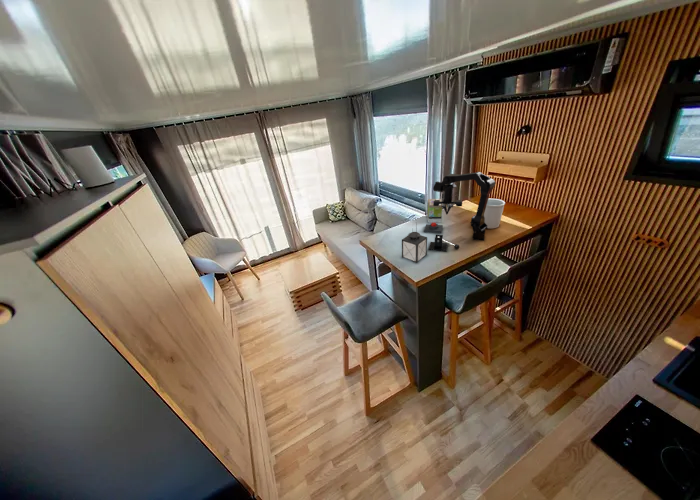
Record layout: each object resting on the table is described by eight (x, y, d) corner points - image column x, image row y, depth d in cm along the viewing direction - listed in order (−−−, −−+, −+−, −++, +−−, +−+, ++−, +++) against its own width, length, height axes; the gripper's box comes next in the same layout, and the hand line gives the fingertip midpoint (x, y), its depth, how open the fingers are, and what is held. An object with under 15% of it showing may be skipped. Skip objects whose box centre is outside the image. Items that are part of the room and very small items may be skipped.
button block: (442, 227, 188) (442, 222, 186) (441, 233, 180) (441, 228, 178) (426, 226, 193) (426, 221, 191) (424, 232, 185) (424, 227, 183)
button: (436, 224, 185) (436, 222, 184) (435, 226, 183) (436, 224, 182) (431, 224, 187) (431, 222, 186) (430, 226, 184) (430, 224, 183)
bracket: (447, 244, 167) (448, 233, 162) (446, 252, 159) (447, 240, 155) (430, 243, 171) (431, 232, 167) (428, 250, 163) (428, 239, 159)
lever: (458, 248, 161) (460, 244, 159) (457, 250, 159) (460, 247, 157) (435, 238, 164) (438, 234, 162) (435, 241, 162) (437, 237, 160)
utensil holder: (485, 218, 192) (488, 196, 184) (504, 224, 181) (509, 201, 172) (473, 224, 186) (476, 202, 177) (492, 230, 175) (497, 207, 166)
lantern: (416, 263, 152) (417, 221, 138) (401, 257, 160) (401, 217, 145) (426, 255, 159) (428, 214, 144) (411, 250, 166) (412, 210, 152)
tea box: (441, 222, 195) (442, 204, 188) (428, 223, 198) (428, 205, 190) (439, 215, 208) (440, 197, 200) (426, 215, 210) (427, 198, 203)
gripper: (463, 189, 175) (461, 210, 182) (435, 189, 182) (434, 209, 190) (463, 194, 166) (460, 216, 174) (433, 194, 173) (432, 215, 181)
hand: (446, 214), depth 180 cm, fingers closed
